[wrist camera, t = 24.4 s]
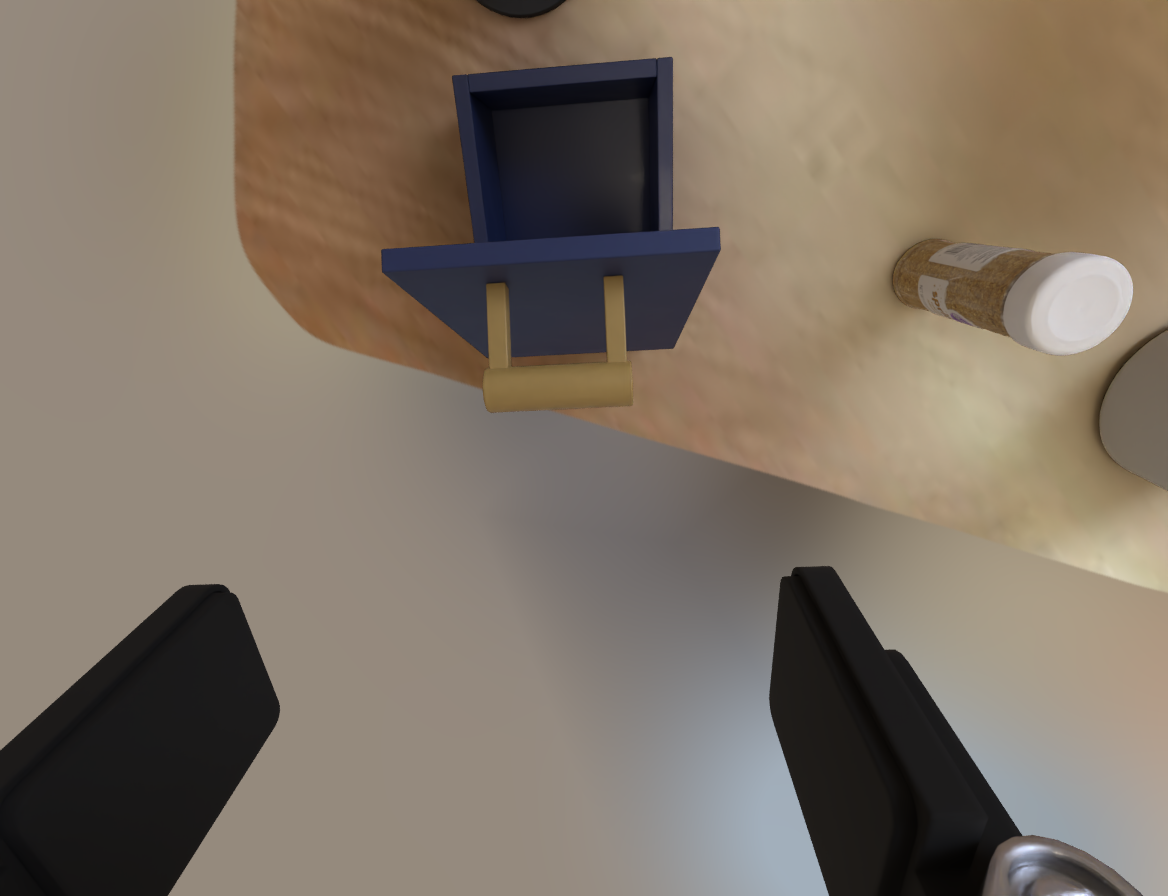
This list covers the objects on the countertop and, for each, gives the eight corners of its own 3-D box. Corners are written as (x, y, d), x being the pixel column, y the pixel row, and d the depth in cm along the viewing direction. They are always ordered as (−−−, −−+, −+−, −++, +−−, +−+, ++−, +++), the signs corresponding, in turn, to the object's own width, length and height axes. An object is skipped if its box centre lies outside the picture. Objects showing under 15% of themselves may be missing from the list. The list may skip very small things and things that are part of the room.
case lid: (380, 248, 18) (385, 411, 18) (719, 225, 18) (728, 394, 17) (487, 345, 33) (490, 435, 33) (673, 335, 32) (677, 426, 32)
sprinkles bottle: (880, 302, 38) (1010, 349, 26) (905, 231, 36) (1059, 247, 24) (944, 312, 38) (1105, 364, 26) (973, 243, 36) (1161, 264, 24)
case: (479, 98, 34) (451, 75, 28) (660, 83, 33) (673, 56, 27) (507, 327, 40) (488, 350, 34) (662, 318, 39) (672, 340, 33)
